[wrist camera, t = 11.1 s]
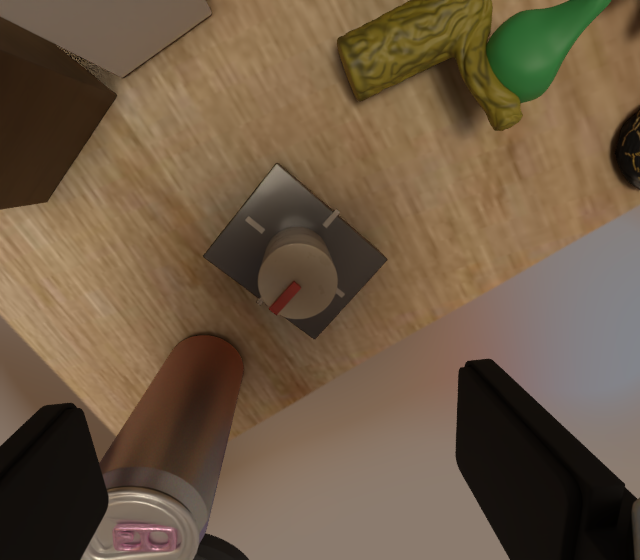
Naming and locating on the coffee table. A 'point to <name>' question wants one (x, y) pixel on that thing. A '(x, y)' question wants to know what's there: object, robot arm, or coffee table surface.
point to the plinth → (42, 114)
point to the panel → (284, 212)
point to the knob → (297, 274)
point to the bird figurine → (467, 49)
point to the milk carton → (108, 26)
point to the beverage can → (170, 456)
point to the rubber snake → (630, 150)
